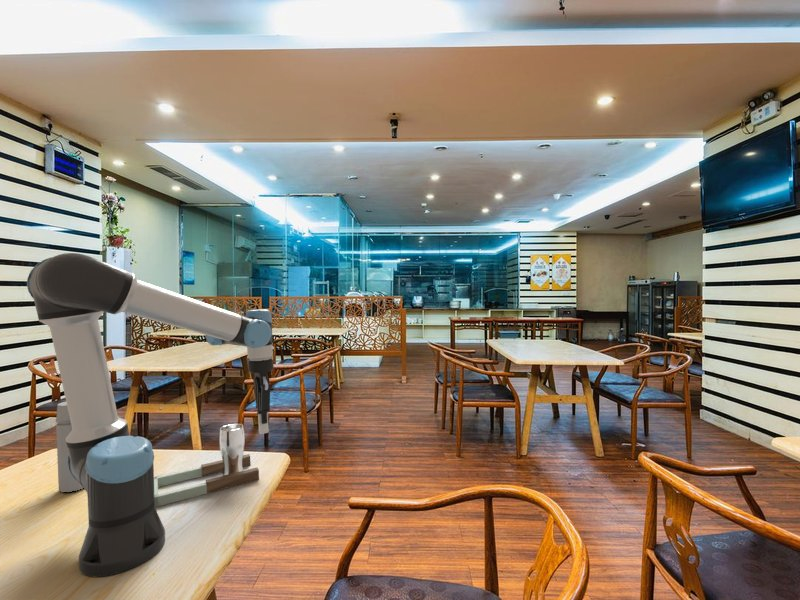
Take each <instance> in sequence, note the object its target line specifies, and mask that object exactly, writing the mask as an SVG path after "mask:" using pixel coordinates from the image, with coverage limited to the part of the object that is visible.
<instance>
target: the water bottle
mask: <svg viewBox="0 0 800 600" xmlns="http://www.w3.org/2000/svg"><path fill="white" fill-rule="evenodd" d="M55 417H56V419H55V427H56V452H57V454H56V455H57V457H56V458H57V478H58V479H57V482H58V484H57V485H58V491H59V492H60V491H61V492H60V493H62V492H72V491H76V492H78V491H77V490H79V491H81V490H84V489H83V487H82V485H81V484H80V483H79V482H78V481H77V480H76V479H75V478H74V477H73V476H72V475H71V473H70V472H69V469H68V464H67V462H68V459H67V458H68V454H69V453H68V448H67V444H66V437H67V436H68V435H69V433H70V432H71V431H72V425H71V421H70V416H69V412H68V407H67V403H66V401H63V402H60V403H57V407H56V416H55ZM80 489H81V490H80ZM72 493H73V492H72Z"/></svg>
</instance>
